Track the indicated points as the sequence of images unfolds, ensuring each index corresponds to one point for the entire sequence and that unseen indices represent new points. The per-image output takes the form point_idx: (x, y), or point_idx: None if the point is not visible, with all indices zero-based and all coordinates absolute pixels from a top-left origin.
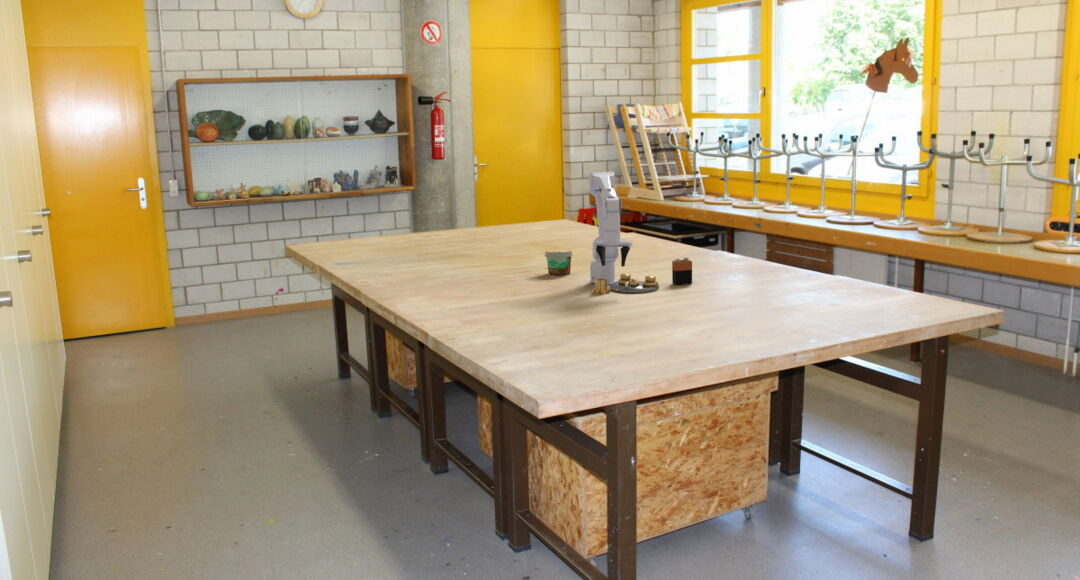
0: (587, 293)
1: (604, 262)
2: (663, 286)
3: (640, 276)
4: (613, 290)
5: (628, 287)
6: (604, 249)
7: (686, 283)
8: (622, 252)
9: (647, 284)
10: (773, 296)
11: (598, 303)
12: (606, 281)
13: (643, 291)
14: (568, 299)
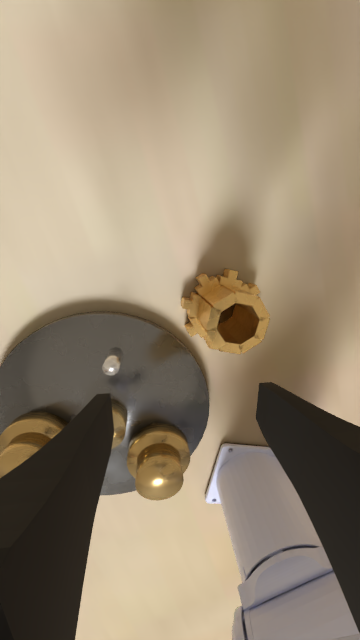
0: (273, 275)
1: (268, 419)
2: None
3: (157, 569)
4: (173, 336)
5: (118, 382)
6: (358, 577)
7: None
8: (15, 501)
9: (35, 418)
10: None
11: (160, 24)
12: (205, 320)
13: (26, 338)
14: (336, 118)
